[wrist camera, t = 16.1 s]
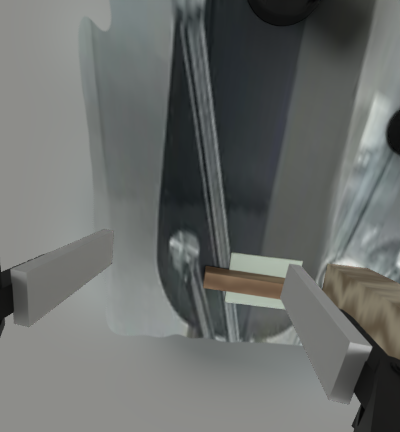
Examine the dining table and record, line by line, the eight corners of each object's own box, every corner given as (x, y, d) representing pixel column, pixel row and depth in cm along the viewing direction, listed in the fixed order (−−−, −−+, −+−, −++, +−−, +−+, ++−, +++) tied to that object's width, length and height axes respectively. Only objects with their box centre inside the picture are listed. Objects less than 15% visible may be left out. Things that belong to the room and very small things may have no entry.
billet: (205, 265, 44) (205, 272, 40) (292, 279, 43) (300, 286, 40) (203, 280, 44) (203, 287, 41) (289, 293, 44) (296, 302, 41)
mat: (231, 252, 44) (231, 253, 43) (301, 260, 43) (302, 261, 43) (224, 300, 45) (224, 301, 45) (292, 308, 45) (293, 310, 45)
